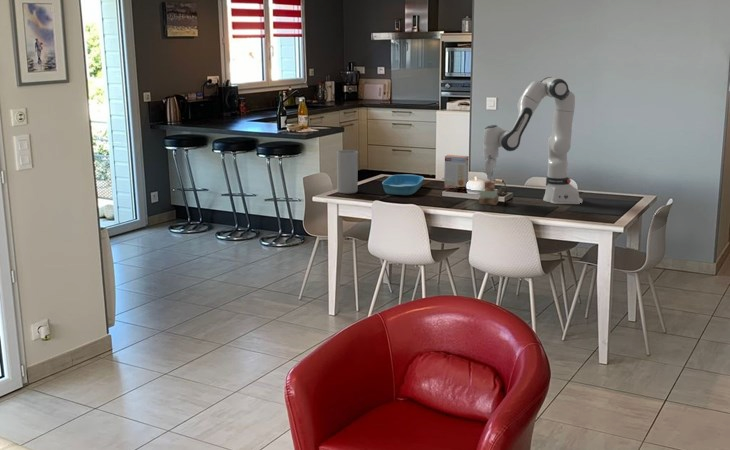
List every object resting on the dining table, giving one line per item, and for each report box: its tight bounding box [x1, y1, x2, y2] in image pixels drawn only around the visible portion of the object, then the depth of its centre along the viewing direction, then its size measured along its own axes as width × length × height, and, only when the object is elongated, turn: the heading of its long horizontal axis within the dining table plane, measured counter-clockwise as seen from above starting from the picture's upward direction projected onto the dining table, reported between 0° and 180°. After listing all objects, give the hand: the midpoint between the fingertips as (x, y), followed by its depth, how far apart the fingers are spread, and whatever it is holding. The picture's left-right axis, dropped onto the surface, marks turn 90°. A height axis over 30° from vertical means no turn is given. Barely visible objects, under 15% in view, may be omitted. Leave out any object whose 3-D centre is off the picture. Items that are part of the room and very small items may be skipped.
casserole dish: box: [381, 173, 425, 196], centre depth 498 cm, size 37×22×7 cm, turn 164°
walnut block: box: [478, 195, 500, 206], centre depth 464 cm, size 10×10×4 cm
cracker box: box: [443, 154, 470, 190], centre depth 501 cm, size 14×6×21 cm, turn 65°
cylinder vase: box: [336, 149, 359, 195], centre depth 491 cm, size 12×12×25 cm
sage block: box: [479, 187, 498, 199], centre depth 464 cm, size 8×8×4 cm
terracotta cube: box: [484, 180, 496, 191], centre depth 462 cm, size 5×5×5 cm
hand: (490, 177), depth 460 cm, fingers open, 8 cm apart
